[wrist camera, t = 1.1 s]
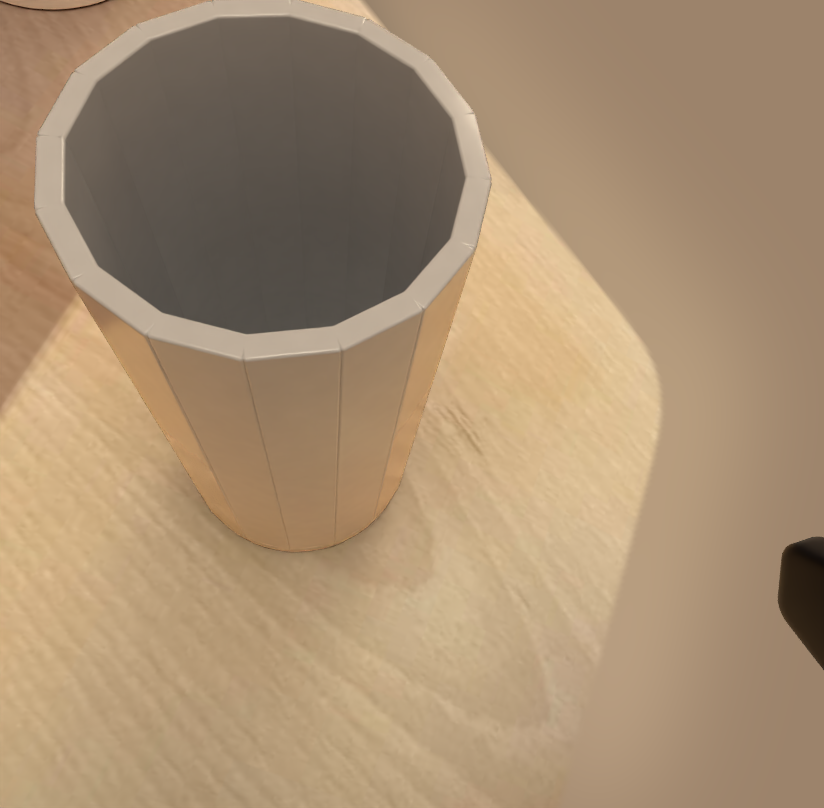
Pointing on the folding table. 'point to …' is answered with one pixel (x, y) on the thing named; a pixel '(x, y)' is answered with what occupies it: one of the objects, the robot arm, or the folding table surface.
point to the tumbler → (269, 247)
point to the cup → (52, 3)
